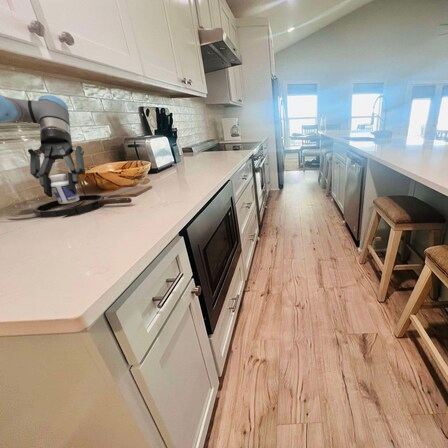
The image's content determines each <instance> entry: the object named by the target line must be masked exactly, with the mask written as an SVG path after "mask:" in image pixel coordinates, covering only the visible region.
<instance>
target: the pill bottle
mask: <svg viewBox="0 0 448 448" xmlns="http://www.w3.org/2000/svg"><path fill="white" fill-rule="evenodd" d="M49 178H50V179H51V187H52V193H54V196H55V198H56V200H58V202H59V203H60V204H64V205H68V204H73V203H77V202H76V201H78V200H79V196H80V195H79V194H78V192H77V191H76V193H77V194H73V193H72V192H71V191H70V190H69V181H68V174H67V173H57V174H51V175H49ZM72 202H73V203H72ZM67 203H68V204H67Z"/></svg>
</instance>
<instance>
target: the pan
mask: <svg viewBox="0 0 448 448" xmlns="http://www.w3.org/2000/svg"><path fill="white" fill-rule="evenodd" d="M78 196H79V200H78V201H76V202H75V203H78V202H86V201H92V202H88V203H85V204H81V205H78V206H77V205H76V206H73V207H67V208H61V209H56V210H55V209H54V210H53V209H52V208H56V207H60V206H63V205H64V206H65V204H60V203H59V202H58V200H57V199H55V200H52V201H48V202H45V203H42V204H40V205H37V206H36V207H35V208H34V209H33V212H34V214H35V216H36V217H39V218H58V217H61V218H62V219H64V218H70V217H74V216H75V217H76V216H79V215H80V216H81V215H83V214H86V213H89V212H93V211H96V210H98V209H100V208H102V207H104V206H105V205H116V204H131V203H132V201H133V200H132V197H114V198H105V197H104V195H101V194H82V195H78ZM73 203H74V202H72V203H71V204H73ZM68 204H69V203H67V204H66V205H68ZM50 209H52V210H50Z"/></svg>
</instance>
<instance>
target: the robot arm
mask: <svg viewBox="0 0 448 448" xmlns="http://www.w3.org/2000/svg"><path fill="white" fill-rule="evenodd" d="M16 121H17V122H16ZM11 122H12V123H11ZM19 122H28V123H31V122H33V123H38V124H37V125H39V140H40V141H39V142H40V146H39V148H38V149H37V148H36V149H33V148H29V149H28V150H27V152H28V154H29V155H30V157H29V158H30V161H29V162H30V163H29V165H30V166H29V167H30V169H29V170H30V171H29V173H30V175H31V176H32V177H33V178H35V179H37V180H38V181H39V185H40V186H41V187H42V188H43V194H45V195H46V196H47V197H48V198H52V197H53V190H52V187H51V183H52V181H51V179H50V177H49V176H50V174H51V170H52V168H53V165H54V163H56V160H63V161H64V162H65V164H66V165H67V167H68V169H69V171H68V172H67V178H68V179H67V180H68V181H69V190H70V191H71V192H72V193H73V194H78V192H77V184H79V183H80V178H79V176H80V175H85V174H86V167H85V161H84V154H85V151H84V149H83V148H82V146H80V145H77V146H76V147H75V146H73V142H72V141H73V140H72V133H71V123H70V113H69V109H68V105H67V104H66V102H65V101H64V100H63V99H62V98H60V97H57V96H56V95H55V96H54V95H52V94H45V95H40V96H39V97H38V99H37V100H32V99H31V100H30V99H21V98H11V97H8V96H5V95H2V94H0V124H9V123H10V124H20V123H19ZM72 153H74V155H75V162H76V166H75V165H74V163H73V161H72V159H71V158H70V155H72ZM42 154H43V157H44V158H43V160H42V163H41V157H42ZM76 192H77V193H76Z"/></svg>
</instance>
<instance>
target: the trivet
mask: <svg viewBox="0 0 448 448" xmlns="http://www.w3.org/2000/svg"><path fill="white" fill-rule="evenodd" d="M152 188H153V187H152V185H145V186H144V185H143V186H141V185H140V186H125V187H124V186H123V187H121V188H118V189H116V190H114V191H111V192H109V193H106V194H104V195H103V197H104V198H105V197H106V199H112V198H132V197H137V196H139V195H141V194H143V193H145V192H147V191H149V190H151V189H152Z"/></svg>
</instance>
